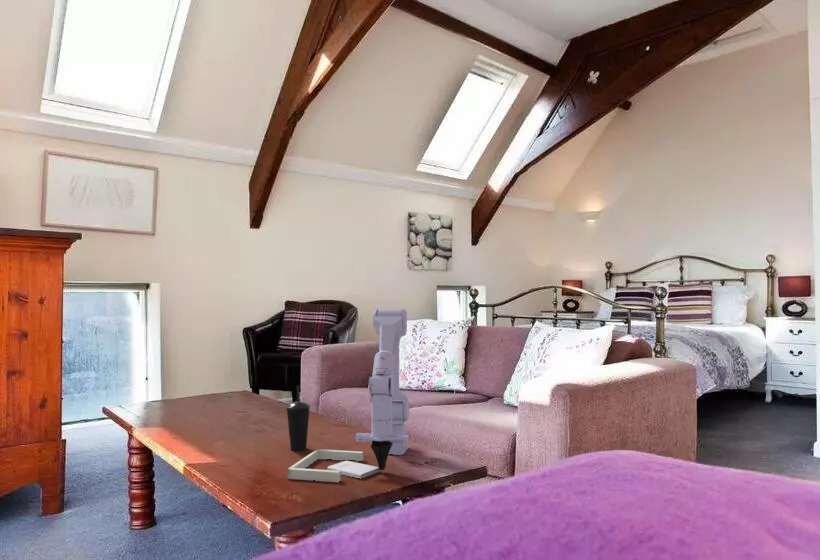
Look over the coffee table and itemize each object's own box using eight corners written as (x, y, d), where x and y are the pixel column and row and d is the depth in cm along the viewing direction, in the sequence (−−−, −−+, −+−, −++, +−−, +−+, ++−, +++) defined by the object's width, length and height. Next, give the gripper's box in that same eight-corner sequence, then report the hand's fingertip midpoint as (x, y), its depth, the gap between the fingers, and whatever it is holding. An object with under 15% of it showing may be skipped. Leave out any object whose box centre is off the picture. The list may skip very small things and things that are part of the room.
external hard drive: (360, 480, 157) (326, 472, 164) (380, 472, 163) (347, 465, 171) (360, 474, 157) (326, 466, 164) (380, 467, 163) (347, 459, 171)
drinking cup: (286, 453, 183) (286, 387, 183) (285, 446, 190) (284, 384, 191) (312, 451, 185) (311, 386, 185) (309, 445, 192) (309, 383, 193)
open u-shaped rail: (317, 457, 178) (317, 449, 178) (363, 460, 175) (363, 451, 175) (287, 478, 158) (287, 469, 158) (338, 482, 155) (338, 472, 155)
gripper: (351, 420, 161) (352, 471, 160) (403, 423, 157) (404, 474, 157) (360, 415, 167) (360, 464, 167) (410, 417, 164) (410, 467, 164)
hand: (382, 468), depth 162 cm, fingers closed
